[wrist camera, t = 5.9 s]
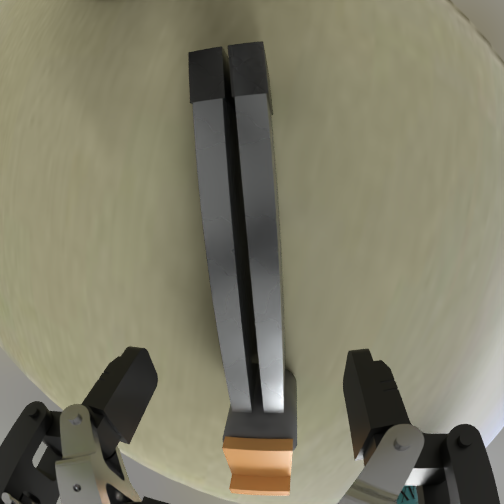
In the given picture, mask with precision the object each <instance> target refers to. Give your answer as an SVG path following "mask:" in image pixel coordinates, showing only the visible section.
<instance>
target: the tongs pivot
mask: <svg viewBox="0 0 504 504" xmlns="http://www.w3.org/2000/svg"><path fill="white" fill-rule="evenodd" d="M225 436H226V437H239V438H257V439H293V450H294V449H295V448H296V446H297V387H296V379H295V377H294V376H293V374H292V373H291V372H289V371H288V370H286V369H285V387H284V413H264V408H263V398H262V388H261V378H260V367H259V364H258V372H257V379H256V386H255V393H254V400H253V407H252V413H247V412H232V407H231V404H230V409H229V413H228V417H227V422H226V426H225V430H224V435H223V443H224V439H225Z"/></svg>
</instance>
